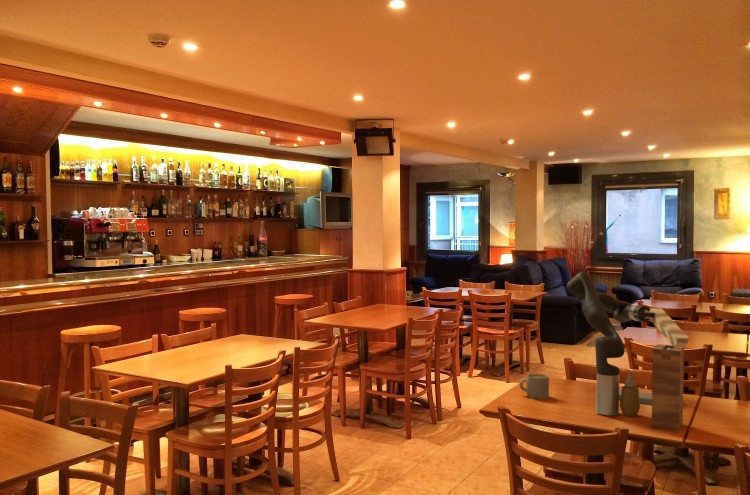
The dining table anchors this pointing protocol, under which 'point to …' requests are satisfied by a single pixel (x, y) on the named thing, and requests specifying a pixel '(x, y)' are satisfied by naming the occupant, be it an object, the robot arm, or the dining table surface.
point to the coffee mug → (536, 386)
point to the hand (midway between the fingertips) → (659, 315)
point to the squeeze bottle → (630, 398)
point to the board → (642, 397)
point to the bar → (668, 328)
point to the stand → (667, 387)
